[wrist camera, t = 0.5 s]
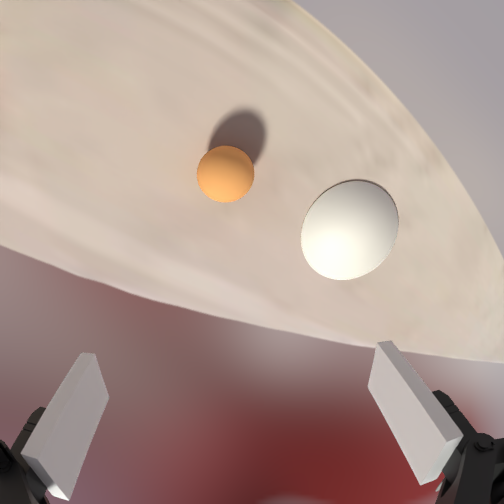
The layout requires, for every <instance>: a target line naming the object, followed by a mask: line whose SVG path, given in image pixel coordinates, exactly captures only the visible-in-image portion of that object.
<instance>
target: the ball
mask: <svg viewBox="0 0 504 504" xmlns="http://www.w3.org/2000/svg"><path fill="white" fill-rule="evenodd" d="M197 180H198V183H199V186H200V188H201V189H202V191H203V192H204V193H205V194H206V195H207V196H208V197H210V198H211V199H213V200H216V201H219V202H232V201H235V200H238V199H240V198H241V197H243V196H244V195H245V194H246V193H247V192H248V191H249V189H250V188H251V186H252V183H253V180H254V168H253V164H252V162H251V160H250V158H249V157H248V155H247V154H246V153H244V152H243V151H242V150H240V149H238V148H236V147H233V146H219V147H216V148H213V149H212V150H210V151H208V152H207V153H206V154H205V155H204V156H203V158H202V159H201V161H200V163H199V165H198V169H197Z"/></svg>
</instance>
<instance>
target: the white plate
mask: <svg viewBox="0 0 504 504" xmlns="http://www.w3.org/2000/svg"><path fill="white" fill-rule="evenodd" d="M397 232H398V214H397V210H396V207H395V205H394V203H393V201H392V199H391V198H390V196H389V195H388V194H387V193H386V192H385V191H384V190H382V189H381V188H380V187H378V186H376V185H374V184H371V183H368V182H364V181H349V182H345V183H341V184H339V185H336V186H334V187H332V188H330V189H329V190H327V191H326V192H324V193H323V194H322V195H321V196H320V197H319V198H318V199H317V200H316V201H315V202H314V203H313V205H312V206H311V207H310V209H309V211H308V213H307V214H306V216H305V219H304V222H303V225H302V230H301V246H302V250H303V253H304V256H305V258H306V260H307V262H308V263H309V264H310V266H311V267H312V268H313V269H314V270H315V271H317V272H318V273H319V274H321V275H323V276H325V277H328V278H331V279H336V280H348V279H354V278H357V277H360V276H362V275H365V274H367V273H369V272H370V271H372V270H373V269H375V268H376V267H377V266H378V265H379V264H381V262H382V261H383V260H384V259H385V258H386V257H387V255H388V254H389V252H390V251H391V249H392V247H393V245H394V243H395V240H396V237H397Z"/></svg>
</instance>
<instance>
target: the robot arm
mask: <svg viewBox="0 0 504 504" xmlns="http://www.w3.org/2000/svg"><path fill="white" fill-rule="evenodd" d="M368 388H369V390H370V392H371V394H372V396H373V397H374V399H375V401H376V403H377V405H378V406H379V408H380V410H381V412H382V414H383V416H384V417H385V419H386V421H387V423H388V425H389V427H390V428H391V430H392V432H393V434H394V436H395V438H396V440H397V442H398V443H399V445H400V447H401V449H402V451H403V453H404V455H405V457H406V459H407V460H408V462H409V464H410V466H411V468H412V470H413V472H414V474H415V476H416V478H417V480H418V482H419V484H420V485H422V484H425V483H428V482H430V481H433V480H435V479H437V477H438V476H439V474H440V473H441V471H443V473H444V475H445V478H444V479H443V481H442V482H441V483H440V485H439V486H438V488H437V489H436V491H439V489H440V491H439V494H438V498H437V500H436V503H435V504H504V438H501V439H494V438H492V437H491V436H490V435H487V434H485V433H477V432H476V431H475V429H474V428H473V427H472V426H471V424H470V423H469V422H468V420H467V419H466V418H465V417H464V415H463V414H462V413H461V412H460V411H459V409H458V407H457V406H456V405H454V403H453V401H452V400H451V399H450V397H449V396H448V395H446V394H445V393H443V392H442V391H440V390H437V391H434V392H431V391H430V389H429V388H428V387H427V385H426V384H425V383H424V381H423V380H422V379H421V378H420V376H419V375H418V374H417V373H416V371H415V370H414V369H413V367H412V366H411V365H410V363H409V362H408V361H407V360H406V358H405V357H404V356H403V355H402V353H401V352H400V351H399V350H398V348H397V347H396V346H395V345H394V343H393V342H392V341H385V342H378V343H377V346H376V352H375V356H374V361H373V366H372V371H371V375H370V379H369V384H368ZM108 399H109V395H108V392H107V390H106V387H105V384H104V381H103V378H102V375H101V372H100V368H99V365H98V362H97V359H96V355H95V354H93V353H81V354H80V355H79V357H78V358H77V360H76V361H75V363H74V365H73V366H72V368H71V369H70V371H69V372H68V374H67V375H66V377H65V379H64V380H63V382H62V384H61V385H60V387H59V388H58V390H57V392H56V393H55V395H54V396H53V398H52V400H51V401H50V403H49V405H48V406H47V408H43V407H39V408H38V409H37V410H36V411H34V412H33V413H32V414H31V416H30V417H29V419H28V421H27V424H25V425H24V427H23V430H22V431H21V432H20V434H19V436H18V437H17V439H16V441H15V443H14V444H13V446H12V448H11V450H10V449H9V448H8V446H7V445H6V444H5V442H3V441H2V440H0V504H50V503H49V501H48V499H47V497H46V496H45V492H46V489H48V490H49V491H50V493H51V494H52V495H53V496H56V497H58V498H62V499H66V500H70V497H71V495H72V492H73V489H74V486H75V483H76V481H77V478H78V475H79V472H80V470H81V467H82V464H83V462H84V459H85V456H86V454H87V451H88V448H89V446H90V443H91V441H92V438H93V436H94V433H95V430H96V428H97V426H98V423H99V421H100V418H101V416H102V414H103V411H104V409H105V406H106V404H107V401H108Z"/></svg>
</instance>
